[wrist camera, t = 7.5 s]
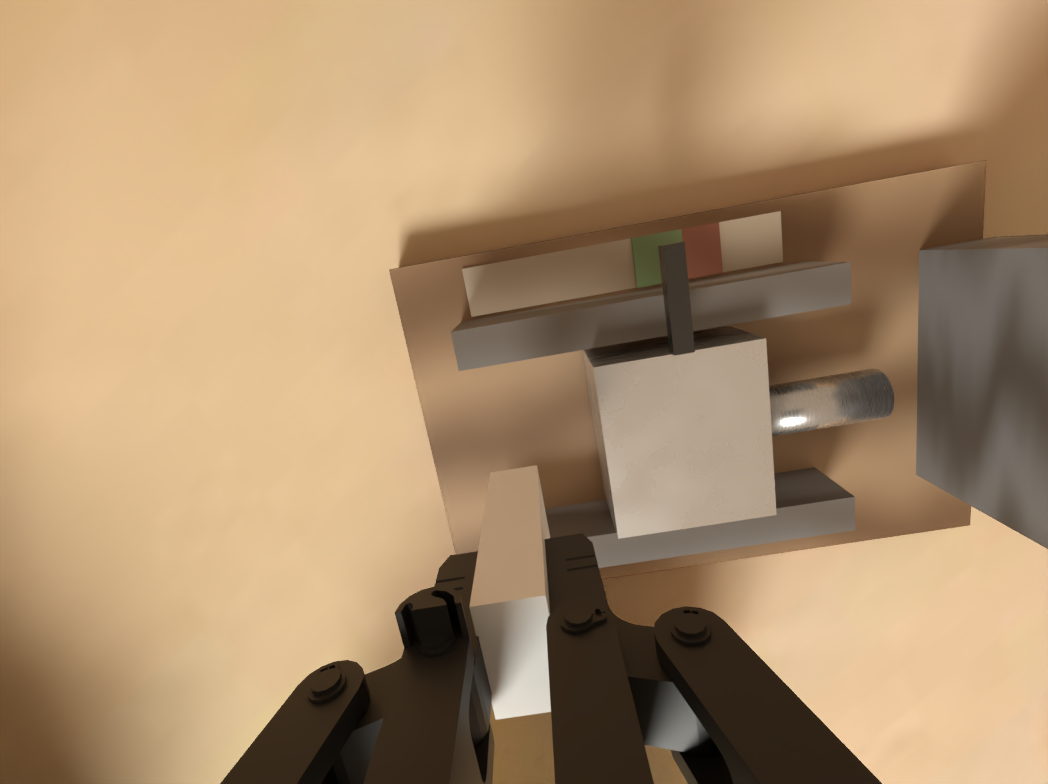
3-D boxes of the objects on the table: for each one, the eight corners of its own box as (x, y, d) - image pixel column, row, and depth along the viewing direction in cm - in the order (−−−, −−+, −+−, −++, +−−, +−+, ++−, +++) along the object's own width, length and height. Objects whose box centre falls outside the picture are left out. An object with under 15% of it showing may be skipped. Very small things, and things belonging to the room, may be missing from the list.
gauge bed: (955, 508, 26) (1195, 649, 16) (469, 580, 27) (438, 748, 18) (967, 164, 22) (1292, 95, 12) (397, 268, 23) (309, 276, 14)
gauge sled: (848, 454, 23) (926, 503, 19) (603, 492, 24) (621, 548, 19) (843, 210, 20) (932, 196, 16) (569, 259, 21) (579, 260, 17)
